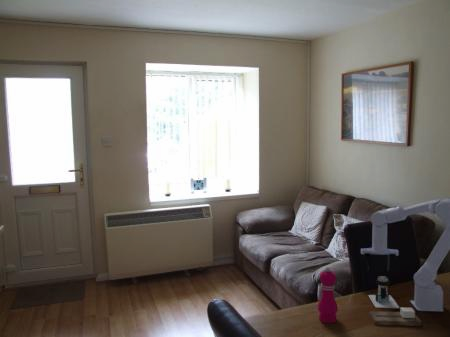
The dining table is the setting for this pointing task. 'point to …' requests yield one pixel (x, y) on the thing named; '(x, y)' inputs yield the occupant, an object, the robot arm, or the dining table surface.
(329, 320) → the pepper mill
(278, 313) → the dining table surface
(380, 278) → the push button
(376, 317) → the switch board
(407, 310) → the switch tab
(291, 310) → the dining table surface
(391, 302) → the parts mat
